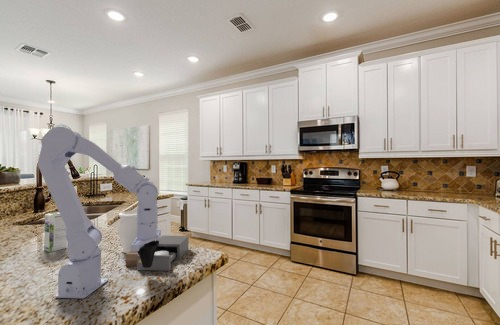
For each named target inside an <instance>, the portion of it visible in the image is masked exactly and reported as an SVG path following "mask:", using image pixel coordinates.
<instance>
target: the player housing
mask: <svg viewBox="0 0 500 325" xmlns="http://www.w3.org/2000/svg"><path fill="white" fill-rule="evenodd" d="M189 238H190V237H189V235H161V238H160V239H159V240H155V241H159V244H158V246H157V248H156V251H155V252H158V251H168V252H169V253H176V254H177V256H176V257H175V258H174V259H173V260H175V261H178V260H179V261H180V260H181V259H182V258H183V256H185V255H186V254H187V252H188V251H189V246H190V245H189V242H190V241H189V240H190V239H189ZM173 260H172V261H173Z"/></svg>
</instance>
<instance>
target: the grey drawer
mask: <svg viewBox="0 0 500 325" xmlns="http://www.w3.org/2000/svg"><path fill="white" fill-rule="evenodd" d="M176 256H177V254H176V253H169V255H154V258H153V262H152V266H151V267H150V268H143V266H142V262H141V259H140V256H139V255H137V266H136V270H137V271H164V272H165V271H167V272H168V271H169V272H170V271H171V269H172V268H171V267H172V266H171V265H172V264H171V263H172V262H173V259H174V258H175V257H176Z"/></svg>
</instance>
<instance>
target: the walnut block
mask: <svg viewBox="0 0 500 325" xmlns="http://www.w3.org/2000/svg"><path fill="white" fill-rule="evenodd" d="M137 255H139V254H138V252H137V251H130V252H128V253H125V267H137Z"/></svg>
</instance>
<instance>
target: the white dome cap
mask: <svg viewBox="0 0 500 325" xmlns="http://www.w3.org/2000/svg"><path fill="white" fill-rule="evenodd" d="M154 255H169V252H168V251H158V252H155V254H154Z"/></svg>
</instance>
